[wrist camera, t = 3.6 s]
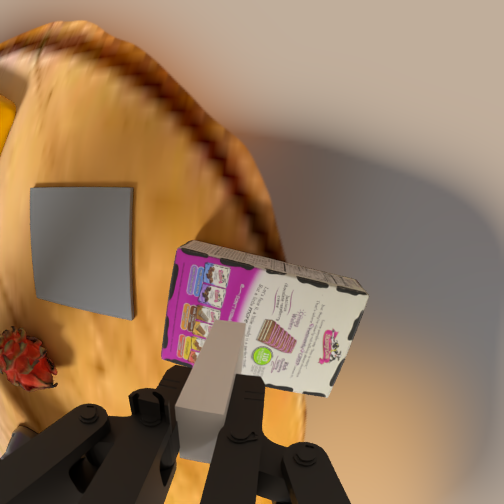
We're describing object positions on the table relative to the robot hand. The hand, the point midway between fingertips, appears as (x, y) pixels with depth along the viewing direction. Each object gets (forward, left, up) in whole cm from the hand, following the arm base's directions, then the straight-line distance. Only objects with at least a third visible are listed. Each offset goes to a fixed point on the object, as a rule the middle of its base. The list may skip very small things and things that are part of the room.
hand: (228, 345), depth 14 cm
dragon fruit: (-30, -16, -15) cm, 37 cm away
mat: (-20, 0, -14) cm, 25 cm away
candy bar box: (-7, -3, -12) cm, 14 cm away
